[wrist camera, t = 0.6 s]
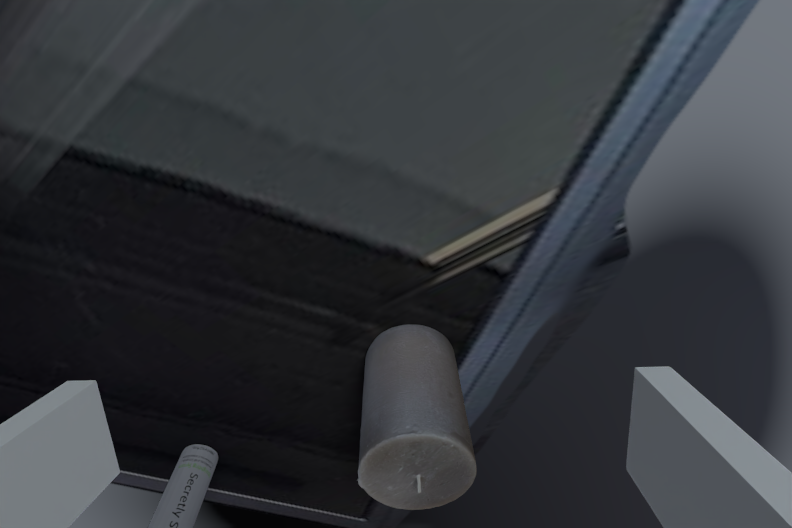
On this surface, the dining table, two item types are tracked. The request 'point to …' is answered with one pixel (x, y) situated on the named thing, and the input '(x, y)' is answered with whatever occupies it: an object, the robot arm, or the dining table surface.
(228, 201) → the dining table surface
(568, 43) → the dining table surface
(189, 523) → the bottle
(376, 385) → the pillar candle
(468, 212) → the dining table surface
